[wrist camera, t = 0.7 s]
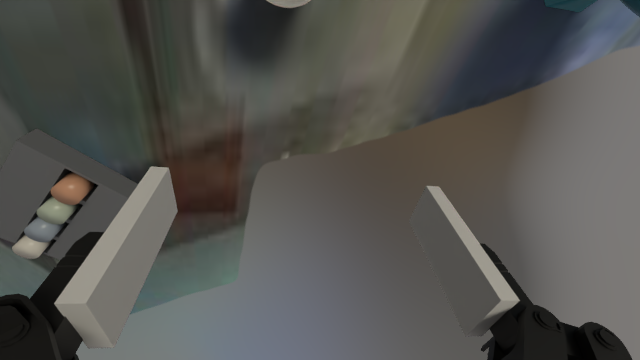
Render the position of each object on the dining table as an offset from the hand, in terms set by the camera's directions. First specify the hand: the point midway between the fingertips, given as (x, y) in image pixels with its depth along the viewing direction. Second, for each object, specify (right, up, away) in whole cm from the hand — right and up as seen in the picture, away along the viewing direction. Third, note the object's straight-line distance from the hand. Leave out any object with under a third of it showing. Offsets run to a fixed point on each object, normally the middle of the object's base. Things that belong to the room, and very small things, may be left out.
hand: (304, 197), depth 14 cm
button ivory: (-53, -10, +38) cm, 66 cm away
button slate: (-48, -6, +36) cm, 61 cm away
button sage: (-44, -3, +34) cm, 56 cm away
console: (-46, -3, +37) cm, 60 cm away
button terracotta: (-40, +1, +32) cm, 51 cm away
